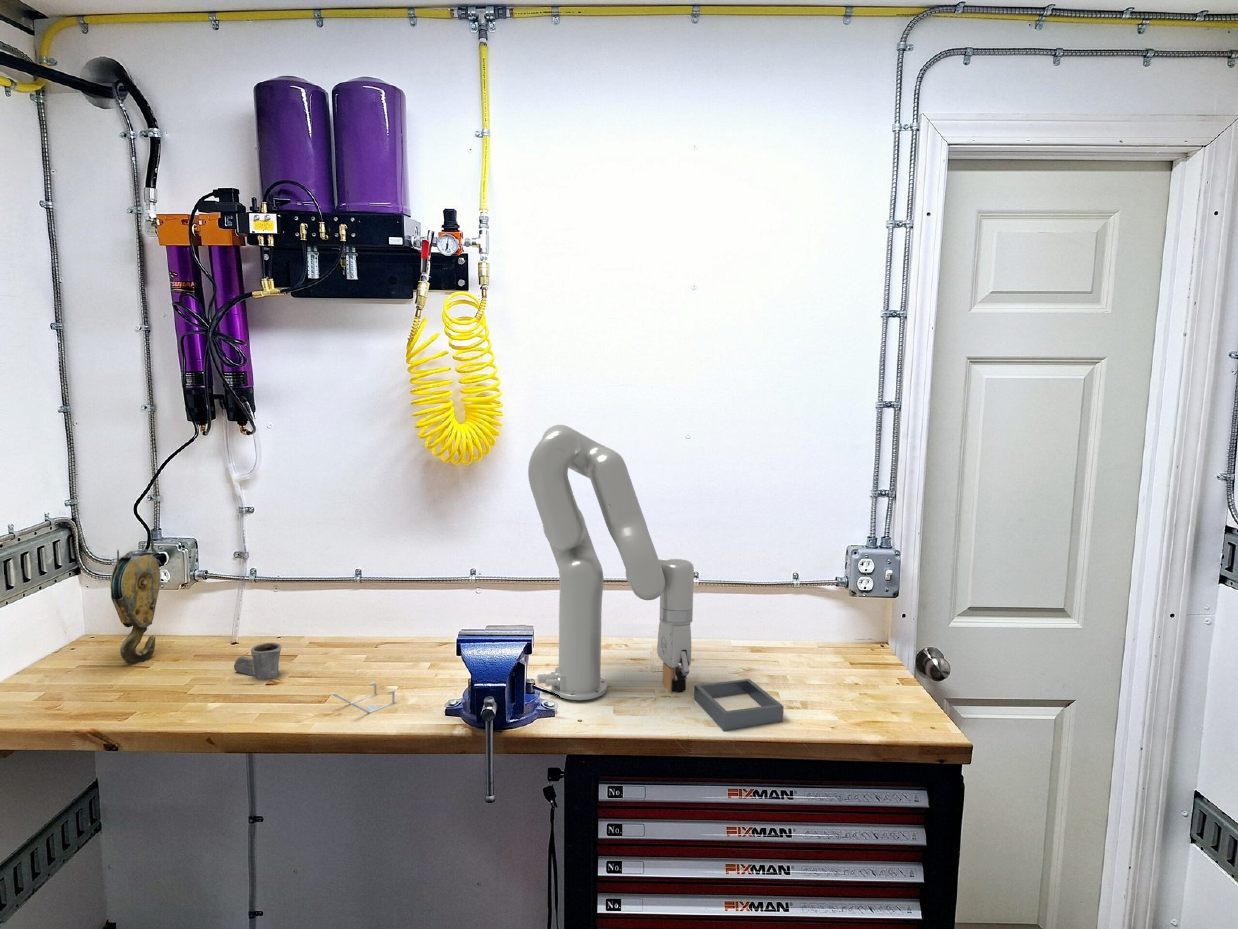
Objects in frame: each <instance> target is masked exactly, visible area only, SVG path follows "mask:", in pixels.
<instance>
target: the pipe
mask: <svg viewBox="0 0 1238 929" xmlns="http://www.w3.org/2000/svg"><path fill="white" fill-rule="evenodd" d="M282 649H283V646H282V645H281V643H277V642H265V643H259V644H257V645H254V646H253V647H251V648H250V652H251V656H252V658H249V657H247V656H243V655H241V656H239V657H238V658H237V659H236V660H235V662H234V665H233V669H234V671H236V672H237V673H241V674H244V675H248V676H251V677H255V678H256V679H257V680H261V681H266V680H267V681H269V680H273V679H276V678H278V677H279V664H280V656H281V651H282Z"/></svg>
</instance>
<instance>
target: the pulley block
mask: <svg viewBox="0 0 1238 929" xmlns="http://www.w3.org/2000/svg"><path fill="white" fill-rule="evenodd" d="M154 545H155V543H154V539H150V549H146V548H141V549H137V550H130V551H129V552H127V553H125V554H124V555H122V556H121V557H120V551H119V549H117V551H116V563H115V564H114V567H113V570H112V574H111V577H110V597H111V602H112V603H113V606H114V608H115V610H116V612H117V615H118V618H119V620H120V622H121V624H122V625H123V626H124V627H125V628H132V629H131V631H130V633H129V634H128V635H127V636H126V637H125V639H124V640H123V641H122V642H121V644H120V649H119V650H120V651H119V652H120V655H121V658H122V659H123V660H124V664H127V665H130V664H131V665H134V664H139V662H140V663H144V662H147V661H148V660H149V659H150V658H151V657H152V656H153V655H154V652H155V648H156V635H154V634H153V635H150V636H149V637H148V639H147V640H146V642H145V644H144V647H143V648H142V649H140V650H138V651H137V647H138V645H140V643H141V641H142V638H143V636H144V634H145V632H147V631H148V627H149V626H151V625H152V624H153V621H154V616H155V612H156V606H157V601H158V598H159V592H160V587H161V583H162V580H161V576H162V575H161V568H160V565H162V563H161V561H160V560H159V559H157V557H156V556H155V555H156V554H159V550H157V549H156V548H155V547H154Z"/></svg>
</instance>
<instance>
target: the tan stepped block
mask: <svg viewBox="0 0 1238 929" xmlns="http://www.w3.org/2000/svg"><path fill="white" fill-rule="evenodd" d="M662 662H663V663H662V684H663V685H664V686H665V688H667V690H668V691H669V692H672V679H674V678H673V668H670V667H669V666H668V665H667V664H666V663H665V662H664V661H662ZM678 665H680V663H678ZM681 669H682V668H681ZM681 669H677V673H678V672H679V671H681Z"/></svg>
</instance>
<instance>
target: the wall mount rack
mask: <svg viewBox="0 0 1238 929" xmlns="http://www.w3.org/2000/svg"><path fill="white" fill-rule="evenodd" d="M369 685H370V686H374V688H373V689H374V693H373V694H371V695H368V696H365V697H363V698H360V699H358V700H354V701H350V700H348V699H346V698H345V697H343V696H340V695H339V694H337V693H335V692H332V693H331V695H332V696H333V697H334V698H338V699H340V700H341V701H343V702H345V703H348V704H350V705H351V706H352V707H354V708H356V709H359V710H361V711H362V712H364V713H367V714H372V713H374V712H377V711H379V710H382V709H384V708H387V707H388V706H392V705H394V703H395V696H396V694H395V691H394V690H393V689H391V690H388V691H387V694H392V697H391V698H392V702H390V703H388V704H385V705H381V707H380V706H379V705H376V704H368V705H366V707H367V708H368V709H369V710H370V711H369V710H367V709H365V708H364V707H361V706H359V705H358V704H356V703H358V702H361V701H363V700H366V699H369V698H371V697H373V696H376V695H377V683H376V682H374V681H373V682H372V681H371V682H370V683H369Z"/></svg>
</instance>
